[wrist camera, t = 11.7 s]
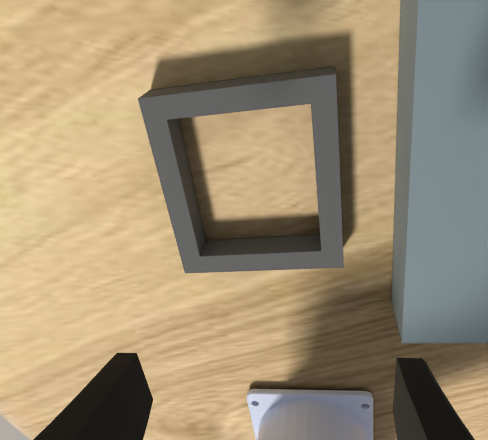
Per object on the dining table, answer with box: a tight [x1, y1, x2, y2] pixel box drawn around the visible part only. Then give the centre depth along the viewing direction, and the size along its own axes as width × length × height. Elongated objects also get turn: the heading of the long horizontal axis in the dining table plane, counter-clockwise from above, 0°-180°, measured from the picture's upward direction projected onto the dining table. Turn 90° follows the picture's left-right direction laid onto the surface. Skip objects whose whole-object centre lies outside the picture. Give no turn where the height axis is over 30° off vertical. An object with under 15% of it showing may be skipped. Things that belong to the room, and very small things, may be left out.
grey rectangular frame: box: [138, 67, 344, 273], centre depth 19 cm, size 9×8×2 cm
